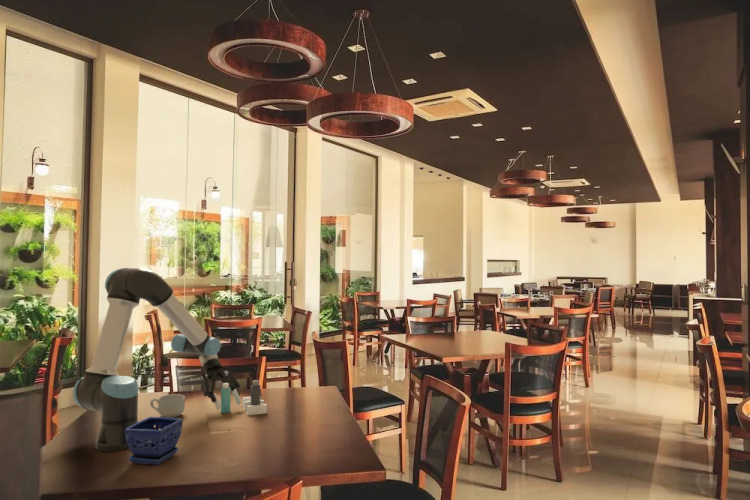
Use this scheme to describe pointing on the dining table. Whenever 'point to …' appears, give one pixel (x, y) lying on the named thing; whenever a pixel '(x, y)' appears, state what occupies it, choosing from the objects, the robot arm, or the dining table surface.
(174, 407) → the teacup
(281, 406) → the dining table surface
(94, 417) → the dining table surface
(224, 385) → the teal bottle
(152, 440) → the flower pot
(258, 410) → the cord comb
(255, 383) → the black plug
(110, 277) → the robot arm
